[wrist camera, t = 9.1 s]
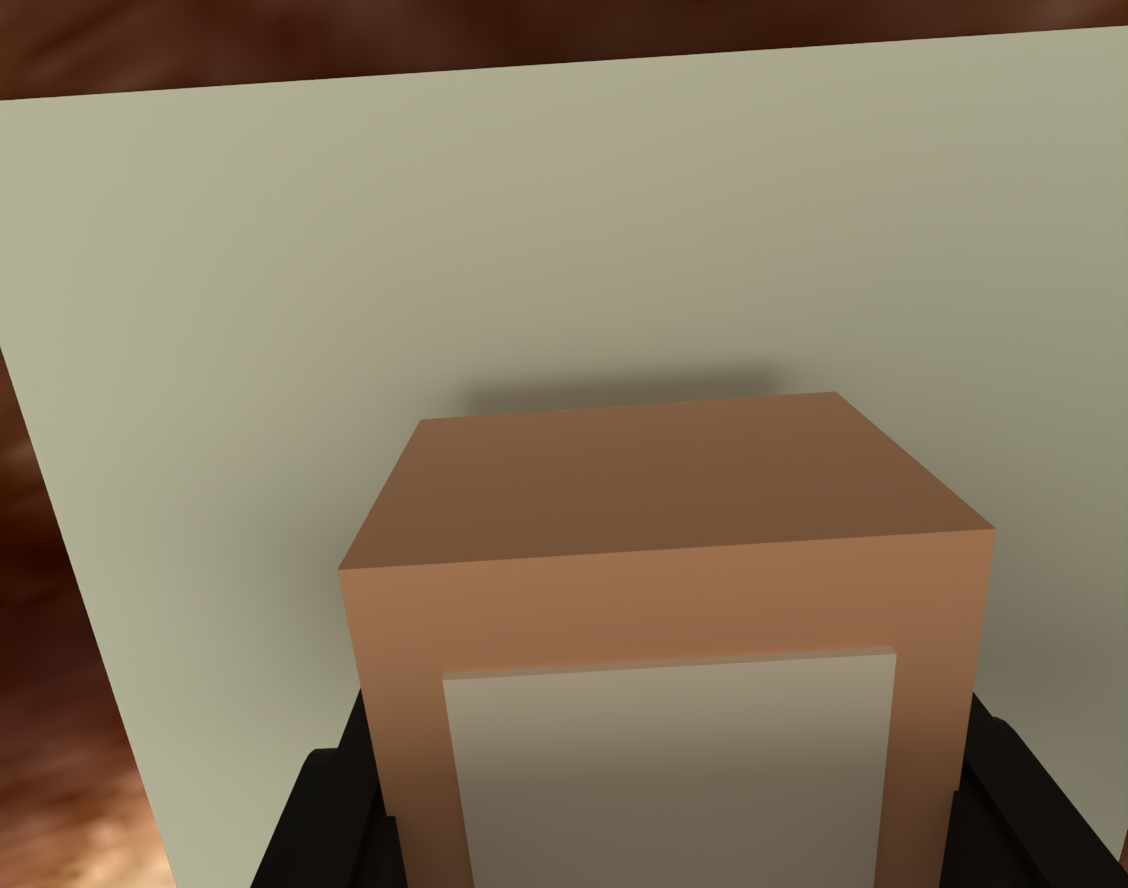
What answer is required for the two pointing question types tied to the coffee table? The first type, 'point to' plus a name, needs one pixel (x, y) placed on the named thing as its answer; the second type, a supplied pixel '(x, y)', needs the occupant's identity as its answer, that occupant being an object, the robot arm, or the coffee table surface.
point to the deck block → (668, 648)
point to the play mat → (559, 346)
